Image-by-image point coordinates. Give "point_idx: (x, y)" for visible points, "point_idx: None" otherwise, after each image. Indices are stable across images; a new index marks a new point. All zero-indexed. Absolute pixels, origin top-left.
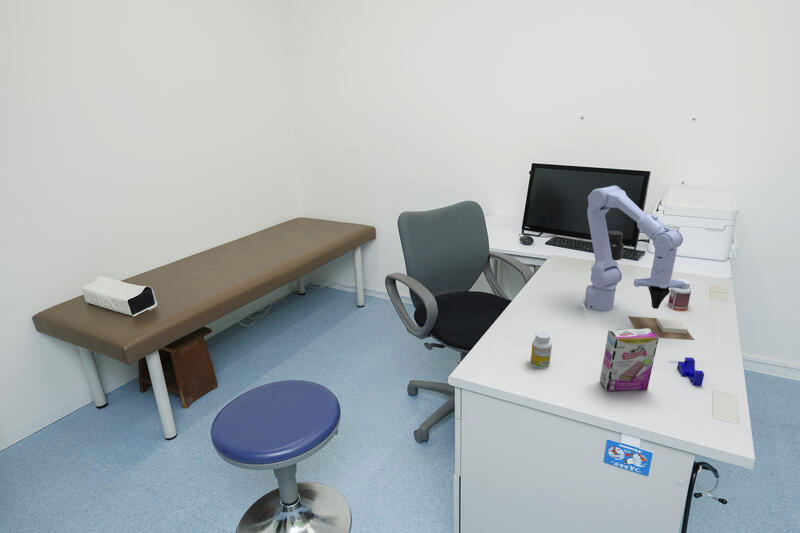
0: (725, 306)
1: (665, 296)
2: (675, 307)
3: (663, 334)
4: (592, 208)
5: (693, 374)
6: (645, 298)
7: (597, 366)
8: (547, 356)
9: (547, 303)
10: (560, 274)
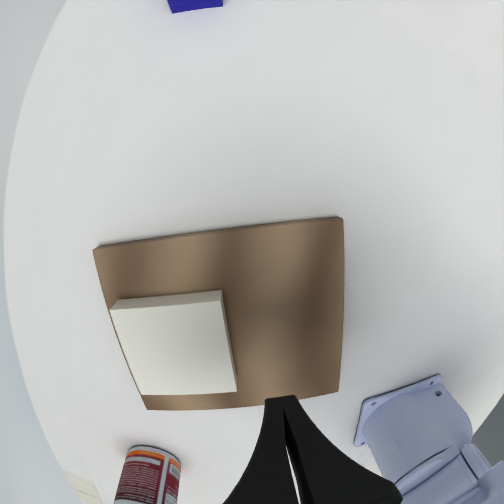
0: (59, 458)
1: (240, 484)
2: (157, 461)
3: (220, 270)
4: None
5: None
6: None
7: (456, 24)
8: None
9: (493, 374)
10: None
